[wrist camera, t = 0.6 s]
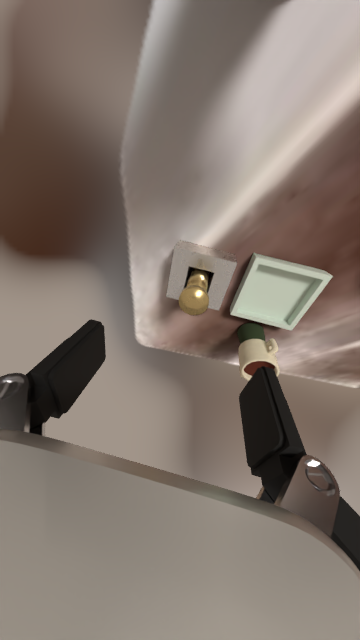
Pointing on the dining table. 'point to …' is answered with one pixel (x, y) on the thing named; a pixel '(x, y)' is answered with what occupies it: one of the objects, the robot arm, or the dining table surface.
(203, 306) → the pin
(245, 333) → the character mug
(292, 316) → the tray
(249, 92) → the dining table surface
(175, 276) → the white square-hole block
